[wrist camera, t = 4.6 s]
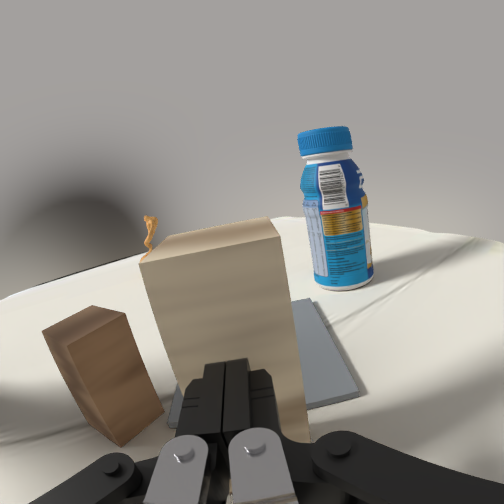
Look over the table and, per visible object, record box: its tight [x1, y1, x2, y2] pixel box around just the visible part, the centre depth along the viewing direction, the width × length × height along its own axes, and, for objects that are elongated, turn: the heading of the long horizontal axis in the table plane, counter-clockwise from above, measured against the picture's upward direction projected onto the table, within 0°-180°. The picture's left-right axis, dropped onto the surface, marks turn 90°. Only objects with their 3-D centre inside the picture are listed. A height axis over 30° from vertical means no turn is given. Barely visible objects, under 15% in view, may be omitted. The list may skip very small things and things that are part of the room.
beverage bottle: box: [298, 126, 374, 291], centre depth 40 cm, size 8×8×20 cm
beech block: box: [139, 216, 311, 494], centre depth 15 cm, size 5×5×14 cm
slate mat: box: [167, 298, 359, 428], centre depth 29 cm, size 18×14×1 cm
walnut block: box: [42, 305, 165, 447], centre depth 21 cm, size 5×5×9 cm
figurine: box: [140, 216, 158, 262], centre depth 65 cm, size 8×6×12 cm
